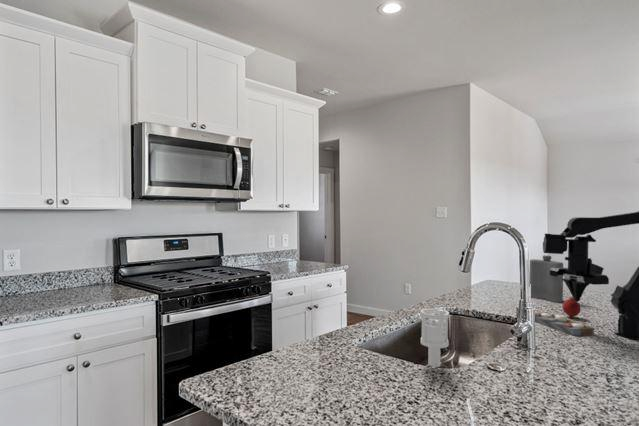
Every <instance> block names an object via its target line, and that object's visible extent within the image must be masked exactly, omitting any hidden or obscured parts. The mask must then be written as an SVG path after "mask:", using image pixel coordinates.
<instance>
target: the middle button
mask: <svg viewBox="0 0 639 426" xmlns="http://www.w3.org/2000/svg"><path fill="white" fill-rule="evenodd" d="M554 315H555V319H556V321H559V322H567V319H568V315H565V314H564V315H563V314H554Z"/></svg>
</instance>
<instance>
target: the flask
mask: <svg viewBox="0 0 639 426" xmlns="http://www.w3.org/2000/svg"><path fill="white" fill-rule="evenodd" d="M556 267H563V268H564V263H563V262H560V261H555V260H554V261H553V260H552V256H551V255H549V254H548V255H545V254H544V255H543V256H542V259H536V258H535V259H533V258H531V259H529V285H530V284H531V297H530V298H532V299H540V300H542V301H543V300H544V301H549V302H552V303H558V304H559V303H564V302H563V299H564V298H563V295H564V281H563V280H562V279H564V275H558V276H551V275H550V269H551V268H556Z"/></svg>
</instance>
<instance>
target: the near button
mask: <svg viewBox="0 0 639 426" xmlns="http://www.w3.org/2000/svg"><path fill="white" fill-rule="evenodd" d="M578 323H579V322H577V323H571V324H572V325H573V327H576V328H582V327H584V325H585V324H583V323H580V324H578ZM582 324H583V325H582Z"/></svg>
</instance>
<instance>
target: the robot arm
mask: <svg viewBox="0 0 639 426" xmlns="http://www.w3.org/2000/svg"><path fill="white" fill-rule="evenodd" d="M638 224H639V210H637V211H635V212H627V213H620V214H614V215H606V216H599V217H589V216H588V217H584V216H583V217H580V216H579V217H572V218H570V219H569V220H568V222H567V224H566V228H565V229H564V230H563V231H562V232H561V233H560V234H555V233H554V234H553V233H546V232H545V233H544V237H543V242H542V251H543V254H553V255H554V254H555V255H556V254H557V255H564V252H567V256H565V257H564V260H565V261H567V267H564V266H563V267H556V268H551V269H550V275H551V276H558V275H563V279H562V280H563V283H565V285H566V287H567V289H568V290H569V292H570V294H571V297H573V298H574V300H575V301H577V302H580V300H581V298H582V296H583V294H584V292H585V290H586V288H587V287H588V286H589V285H594V286H595V285H600V286H601V285H609V283H610V278H609V276H607V275H606V274H603V272H604V269H605V268H604V267H602V266H600V265H598V264H594V263H593V259H592V258H589V243H596V241H597V240H596V239H595V238H594V237H593V236H592V235H591V233H594V232H596V231H600V230H603V229H608V228H615V227H623V226H630V225H638ZM584 235H585V236H584ZM610 296H611V300H610V302H611V306H612V307H613V308H614V309H616V310H617V313H618V314H619V316H618V319H617V331H616V332H614V334H615V335H617V336H620V337H623V338H626V339H630V340H635V341H636V340H639V265H638V267H637V268H636V269H635V271H634V272H633V274H632V276H631V277H630V279H629V281H628V282H626V284H625V285H623V286H620V285H616V287H615V290H614V292H613V293H612V294H610Z"/></svg>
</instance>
